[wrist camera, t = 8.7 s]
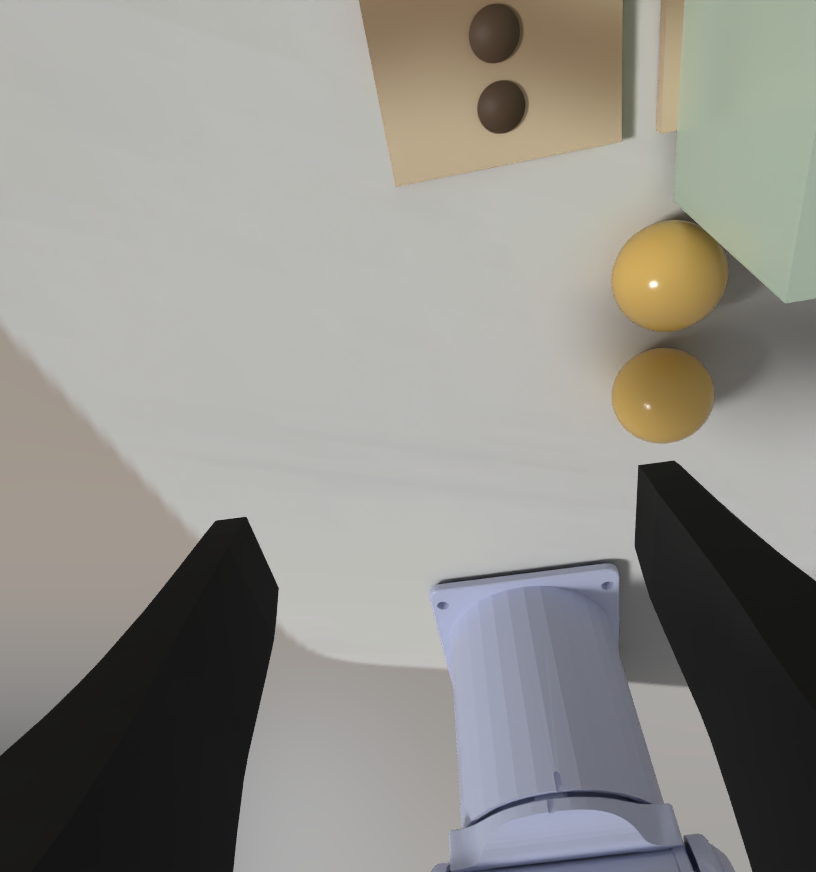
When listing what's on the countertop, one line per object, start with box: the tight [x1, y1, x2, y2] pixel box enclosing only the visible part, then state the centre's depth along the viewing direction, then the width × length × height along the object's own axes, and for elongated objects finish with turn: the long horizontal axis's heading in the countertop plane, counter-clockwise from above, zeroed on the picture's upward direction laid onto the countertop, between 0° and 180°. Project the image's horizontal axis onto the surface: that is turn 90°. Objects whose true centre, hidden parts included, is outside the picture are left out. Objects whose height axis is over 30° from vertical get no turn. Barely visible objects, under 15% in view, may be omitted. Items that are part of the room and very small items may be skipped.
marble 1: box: [611, 220, 729, 332], centre depth 18 cm, size 3×3×3 cm
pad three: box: [359, 0, 623, 187], centre depth 15 cm, size 6×6×1 cm
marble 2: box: [611, 348, 715, 444], centre depth 20 cm, size 3×3×3 cm
